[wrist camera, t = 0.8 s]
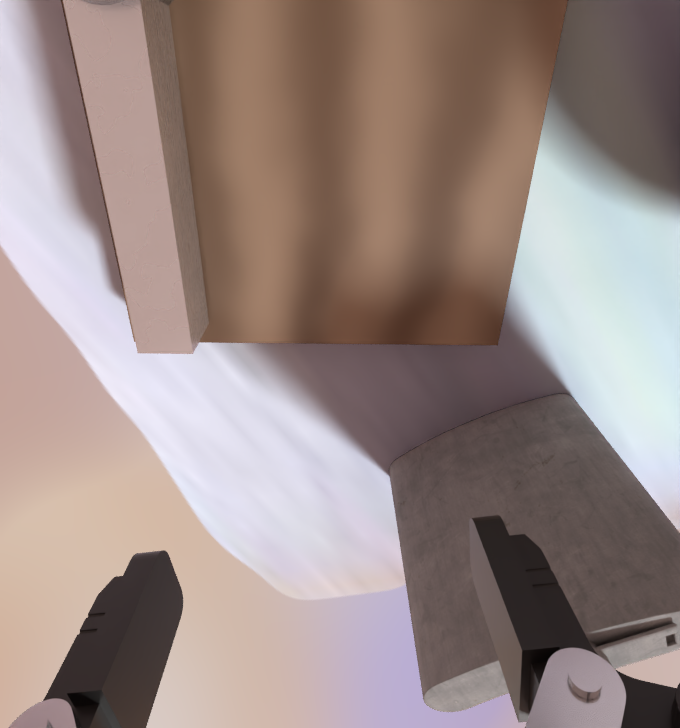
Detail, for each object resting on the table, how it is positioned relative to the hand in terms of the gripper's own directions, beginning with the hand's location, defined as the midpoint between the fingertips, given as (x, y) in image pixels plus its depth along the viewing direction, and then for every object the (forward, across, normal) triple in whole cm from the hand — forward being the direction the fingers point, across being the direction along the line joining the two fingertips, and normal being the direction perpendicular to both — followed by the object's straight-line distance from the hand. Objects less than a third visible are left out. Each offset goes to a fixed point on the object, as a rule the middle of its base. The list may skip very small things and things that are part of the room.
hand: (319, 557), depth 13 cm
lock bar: (+18, +7, -11) cm, 22 cm away
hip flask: (+24, -10, +13) cm, 29 cm away
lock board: (+21, -1, -11) cm, 24 cm away
